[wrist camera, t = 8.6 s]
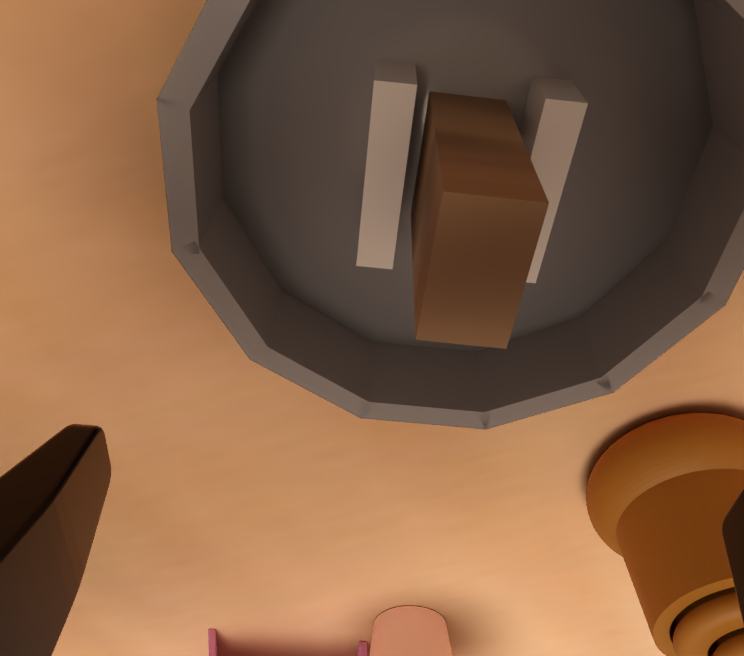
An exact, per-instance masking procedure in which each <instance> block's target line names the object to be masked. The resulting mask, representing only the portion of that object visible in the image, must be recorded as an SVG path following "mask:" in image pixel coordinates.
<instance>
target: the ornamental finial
mask: <svg viewBox="0 0 744 656" xmlns="http://www.w3.org/2000/svg"><path fill="white" fill-rule="evenodd" d="M743 489H744V420H741V419H738V418H735V417H731V416H727V415H722V414H715V413H685V414H678V415H672V416H667V417H664V418H660V419H657V420H654V421H651V422H648V423H646V424H643V425H641V426H639V427H637V428H635V429H633V430H631V431H630V432H628V433H627V434H625V435H623V436H622V437H621V438H619V439H618V440H617V441H616V442H614V443H613V444H612V445H611V446H610V447H609V448H608V449H607V450H606V451H605V452H604V453H603V454H602V456H601V457H600V458H599V460H598V461H597V463H596V464H595V466H594V468H593V470H592V472H591V475H590V478H589V481H588V485H587V492H586V502H587V509H588V514H589V517H590V520H591V522H592V525H593V527H594V529H595V530H596V532H597V533H598V535H599V536H600V538H601V539H602V540H603V541H604V542H605V543H606V544H607V545H608V546H609V547H610V548H611V549H612V550H613V551H615V552H616V553H618V554H619V555H621V556H622V557H623V558H624V561H625V563H626V566H627V569H628V571H629V574H630V577H631V580H632V582H633V585H634V588H635V590H636V593H637V596H638V599H639V601H640V604H641V607H642V609H643V612H644V615H645V617H646V620H647V623H648V626H649V628H650V631H651V634H652V636H653V639H654V642H655V644H656V646H657V647H658V649H659V650H660V651H661V652H662V653H663V654H665V655H666V656H744V624H743V621H742V616H741V612H740V608H739V604H738V600H737V595H736V591H735V587H734V583H733V579H732V574H731V570H730V566H729V562H728V558H727V553H726V549H725V545H724V541H723V536H722V523H723V520H724V517H725V516H726V514H727V513H728V511H729V510H730V508H731V507H732V505H733V504H734V502H735V501H736V499H737V498H738V496H739V495H740V493H741V492H742V490H743Z"/></svg>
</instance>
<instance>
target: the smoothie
mask: <svg viewBox="0 0 744 656" xmlns="http://www.w3.org/2000/svg"><path fill="white" fill-rule="evenodd" d="M369 656H452V651H451V646H450V641H449V636H448V630H447V625H446V621H445V619H444V618H443V617H442V616H441V615H440V614H439V613H437V612H435V611H433V610H431V609H428V608H424V607H418V606H401V607H396V608H392V609H389V610H386V611H384V612H383V613H381V614H380V615H379V616H378V617H377V618H376V619H375V622H374V628H373V634H372V641H371V647H370V654H369Z"/></svg>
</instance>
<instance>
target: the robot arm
mask: <svg viewBox="0 0 744 656" xmlns="http://www.w3.org/2000/svg"><path fill="white" fill-rule="evenodd" d="M110 478H111V464H110V459H109V454H108V449H107V444H106V439H105V434H104V431H103V430H102V428H101V427H98V426H92V425H81V424H72V425H69V426H67V427H65V428H64V429H63V430H61V431H60V432H59V433H57V434H56V435H55V436H53V437H52V438H51V439H49V440H48V441H47V442H46V443H44V444H43V445H42V446H40V447H39V448H38V449H36V450H35V451H34V452H32V453H31V454H30V455H29V456H27V457H26V458H25V459H23V460H22V461H21V462H19V463H18V464H17V465H15V466H14V467H13V468H12V469H10V470H9V471H8V472H6V473H5V474H4V475H2V476H1V477H0V656H51V655H52V653H53V651H54V648H55V646H56V643H57V641H58V639H59V636H60V634H61V631H62V629H63V627H64V624H65V622H66V619H67V617H68V614H69V612H70V610H71V607H72V605H73V602H74V600H75V597H76V594H77V592H78V589H79V586H80V583H81V580H82V577H83V574H84V570H85V567H86V563H87V560H88V556H89V553H90V549H91V546H92V543H93V539H94V536H95V532H96V529H97V525H98V522H99V518H100V515H101V511H102V508H103V504H104V501H105V497H106V494H107V491H108V487H109V483H110ZM722 536H723V541H724V545H725V549H726V553H727V558H728V562H729V566H730V570H731V574H732V579H733V583H734V587H735V591H736V595H737V600H738V604H739V608H740V612H741V616H742V621H743V624H744V489H743V490H742V492H741V493H740V495H739V496H738V498H737V499H736V501H735V502H734V504H733V505H732V507H731V508H730V510H729V511H728V513H727V514H726V516H725V517H724V520H723V523H722Z"/></svg>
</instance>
